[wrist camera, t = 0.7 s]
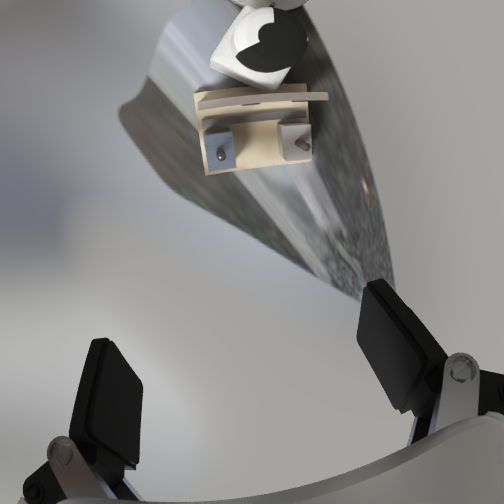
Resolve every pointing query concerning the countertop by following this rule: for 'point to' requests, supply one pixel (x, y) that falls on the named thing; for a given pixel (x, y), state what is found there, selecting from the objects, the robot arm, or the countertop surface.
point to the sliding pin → (219, 150)
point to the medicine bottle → (260, 47)
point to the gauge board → (259, 123)
